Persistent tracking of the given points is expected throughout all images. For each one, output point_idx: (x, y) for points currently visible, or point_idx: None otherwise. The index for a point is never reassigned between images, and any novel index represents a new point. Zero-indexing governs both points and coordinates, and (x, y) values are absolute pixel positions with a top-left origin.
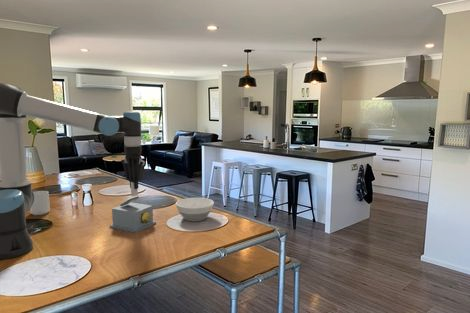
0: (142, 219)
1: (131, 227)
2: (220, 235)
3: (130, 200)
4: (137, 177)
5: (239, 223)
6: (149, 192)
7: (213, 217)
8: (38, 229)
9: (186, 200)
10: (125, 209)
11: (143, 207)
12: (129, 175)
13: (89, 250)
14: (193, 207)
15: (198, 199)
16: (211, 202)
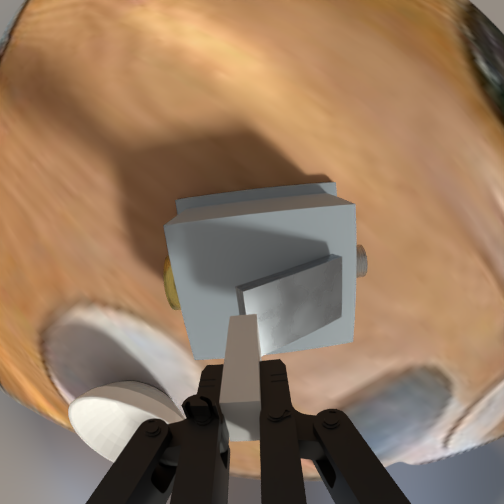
0: None
1: (210, 206)
2: (9, 322)
3: (248, 284)
4: (140, 456)
5: (47, 400)
6: (427, 449)
7: None
8: (486, 70)
9: None
10: (267, 235)
11: (207, 318)
12: (290, 470)
13: (189, 5)
14: None
15: None
16: (115, 457)
